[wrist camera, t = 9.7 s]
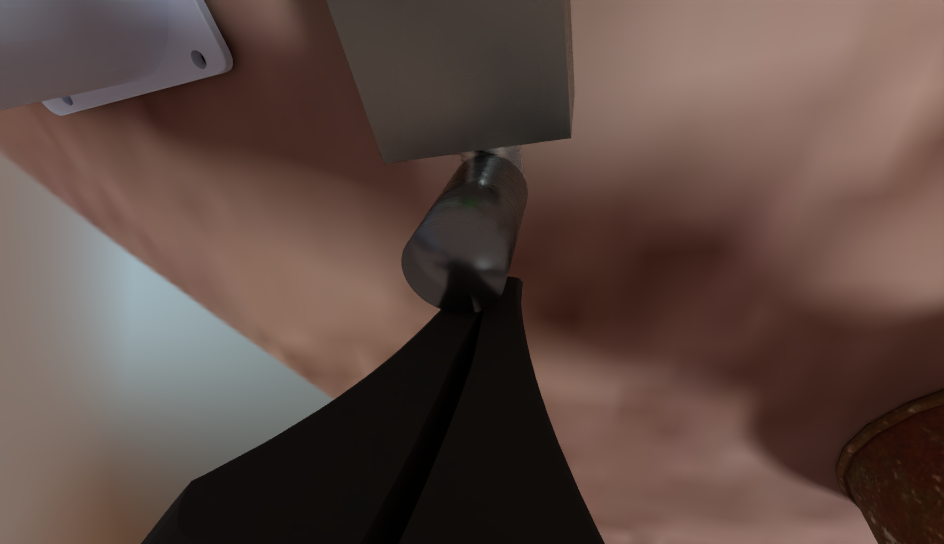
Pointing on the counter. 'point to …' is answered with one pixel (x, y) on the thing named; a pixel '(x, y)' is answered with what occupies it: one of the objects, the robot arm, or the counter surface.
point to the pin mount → (459, 72)
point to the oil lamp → (899, 473)
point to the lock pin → (469, 233)
